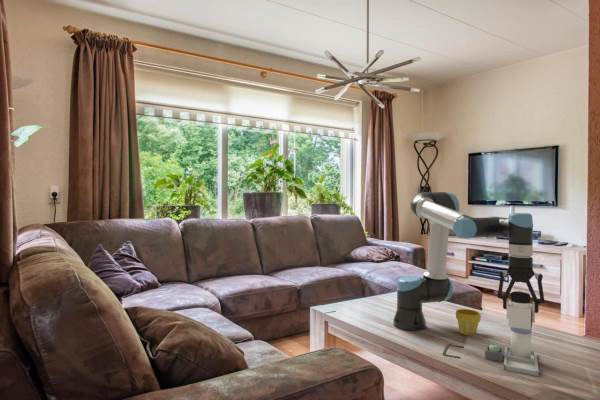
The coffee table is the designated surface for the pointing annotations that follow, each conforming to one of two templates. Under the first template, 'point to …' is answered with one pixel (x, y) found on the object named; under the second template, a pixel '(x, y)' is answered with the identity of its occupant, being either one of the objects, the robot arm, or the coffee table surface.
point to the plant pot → (468, 320)
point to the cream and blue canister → (520, 343)
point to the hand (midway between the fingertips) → (520, 319)
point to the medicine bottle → (520, 311)
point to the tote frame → (446, 349)
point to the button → (494, 348)
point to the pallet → (514, 361)
